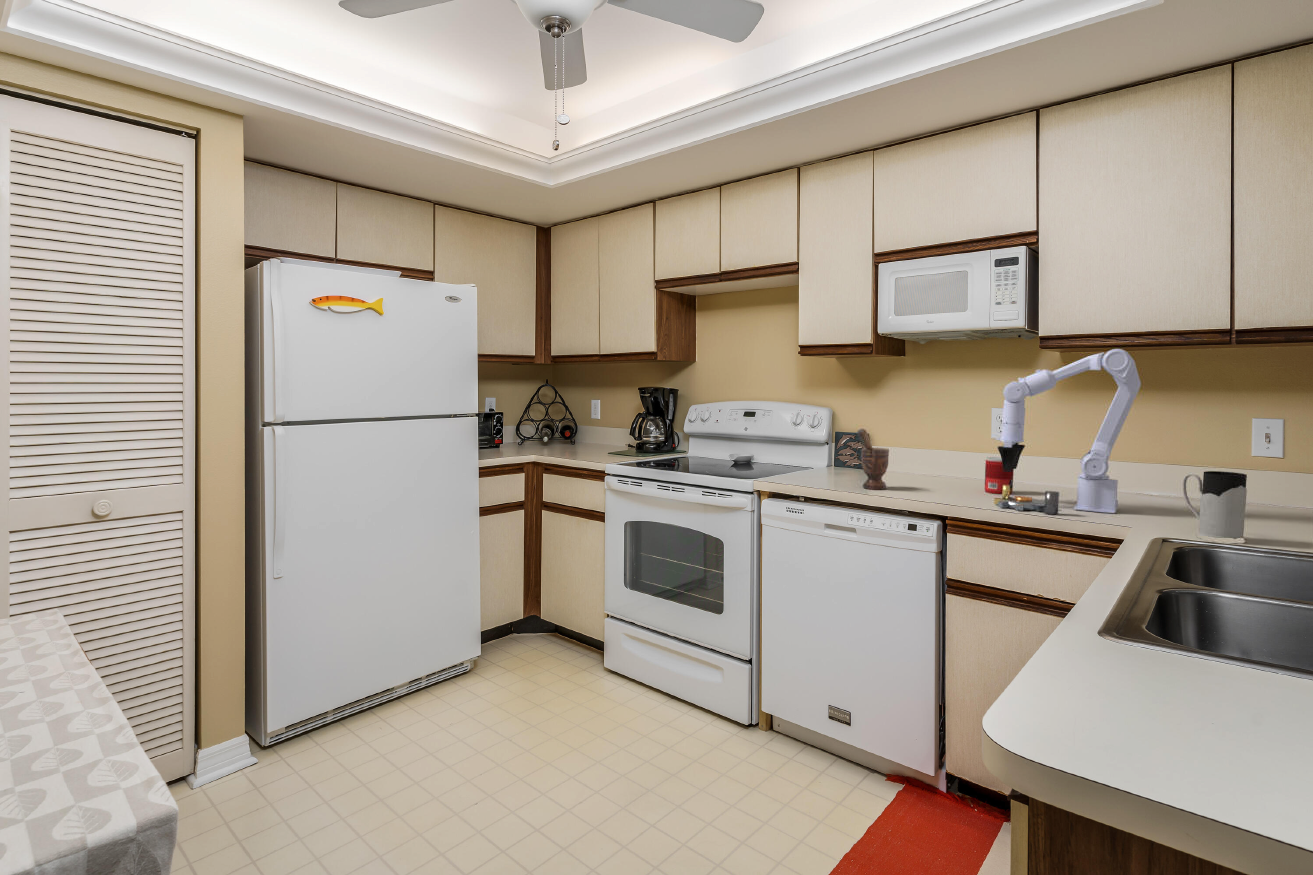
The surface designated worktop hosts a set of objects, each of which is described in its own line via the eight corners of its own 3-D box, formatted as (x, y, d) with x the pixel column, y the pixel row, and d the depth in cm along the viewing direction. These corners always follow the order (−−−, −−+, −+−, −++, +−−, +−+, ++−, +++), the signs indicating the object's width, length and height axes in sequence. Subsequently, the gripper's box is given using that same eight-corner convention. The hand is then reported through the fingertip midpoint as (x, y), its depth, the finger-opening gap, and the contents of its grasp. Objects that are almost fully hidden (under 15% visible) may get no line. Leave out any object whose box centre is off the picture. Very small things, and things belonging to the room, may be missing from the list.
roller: (1058, 513, 184) (1059, 491, 183) (1057, 515, 181) (1058, 493, 181) (1044, 512, 186) (1046, 490, 185) (1043, 514, 183) (1044, 492, 182)
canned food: (1015, 495, 213) (1017, 460, 212) (988, 494, 214) (989, 459, 213) (1008, 491, 220) (1009, 457, 219) (981, 490, 222) (983, 456, 221)
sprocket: (1055, 504, 195) (1056, 485, 194) (1049, 513, 183) (1050, 492, 182) (999, 499, 203) (999, 481, 203) (989, 507, 191) (990, 487, 191)
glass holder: (1222, 544, 150) (1227, 476, 149) (1164, 530, 164) (1168, 468, 163) (1256, 542, 151) (1261, 475, 150) (1196, 528, 165) (1200, 467, 164)
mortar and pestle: (878, 492, 217) (880, 429, 216) (852, 489, 223) (853, 428, 221) (891, 488, 226) (893, 427, 225) (866, 485, 232) (867, 426, 230)
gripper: (1002, 421, 206) (999, 466, 207) (993, 424, 194) (990, 471, 196) (1028, 422, 202) (1025, 468, 203) (1021, 425, 190) (1017, 473, 192)
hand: (1009, 470), depth 199 cm, fingers open, 7 cm apart
